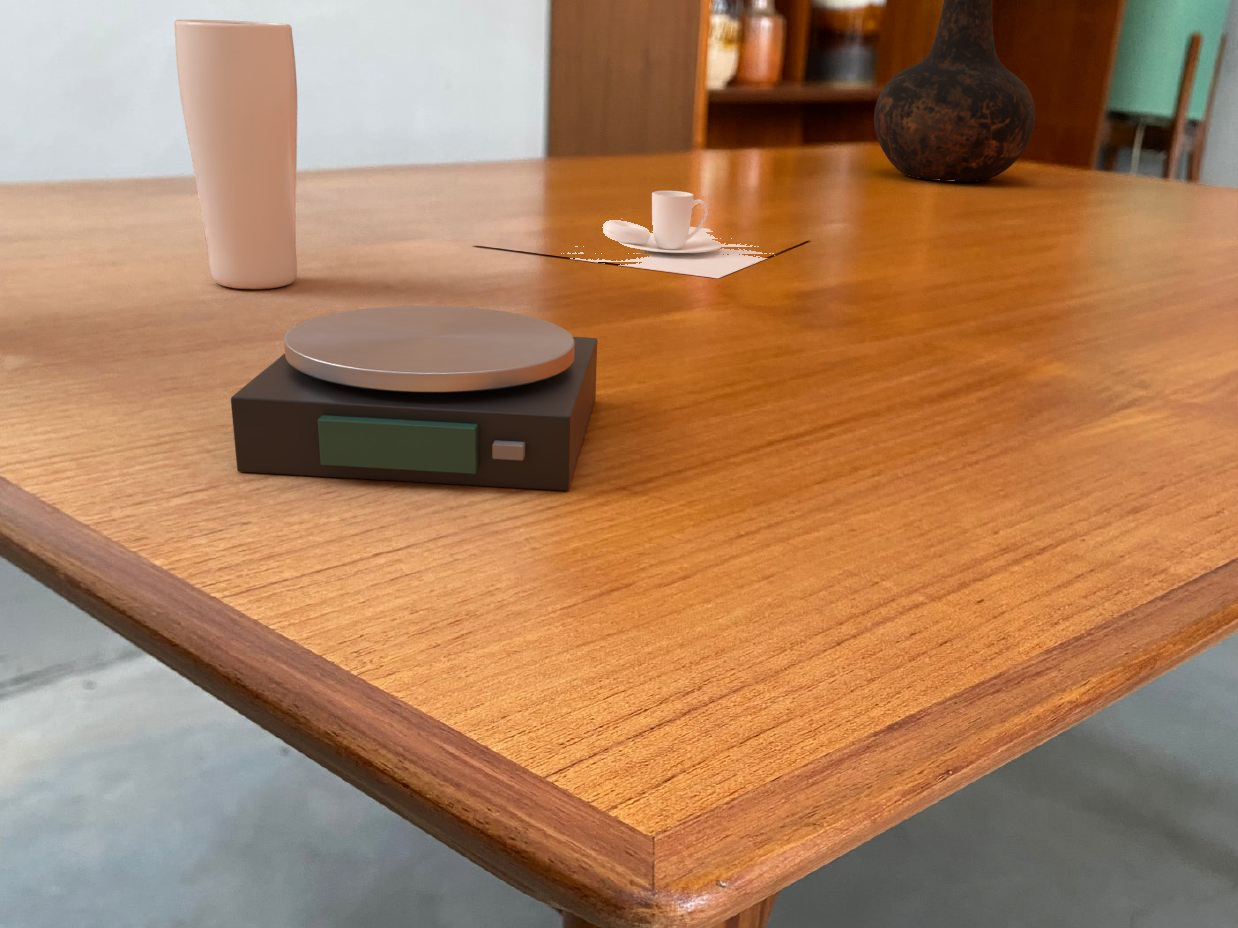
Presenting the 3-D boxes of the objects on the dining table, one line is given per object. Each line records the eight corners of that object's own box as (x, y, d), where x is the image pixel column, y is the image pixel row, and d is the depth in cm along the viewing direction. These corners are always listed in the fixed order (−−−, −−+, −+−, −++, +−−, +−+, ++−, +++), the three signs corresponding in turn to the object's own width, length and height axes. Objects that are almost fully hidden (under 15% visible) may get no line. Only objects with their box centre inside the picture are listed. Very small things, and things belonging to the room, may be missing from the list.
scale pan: (245, 383, 51) (244, 363, 50) (328, 316, 61) (327, 298, 61) (558, 401, 50) (559, 381, 50) (586, 330, 61) (586, 313, 61)
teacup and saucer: (590, 249, 100) (591, 192, 98) (635, 235, 106) (637, 182, 105) (696, 262, 97) (700, 204, 95) (736, 248, 103) (740, 193, 101)
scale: (231, 477, 51) (224, 401, 50) (324, 385, 63) (321, 322, 62) (567, 497, 51) (568, 421, 49) (595, 400, 63) (597, 337, 62)
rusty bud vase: (1032, 177, 158) (1075, -90, 146) (1015, 193, 143) (1062, -103, 131) (884, 164, 164) (914, -93, 151) (853, 179, 148) (884, -107, 136)
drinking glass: (191, 293, 80) (163, 20, 74) (206, 271, 86) (181, 18, 80) (305, 294, 81) (288, 26, 75) (312, 273, 87) (297, 23, 81)
